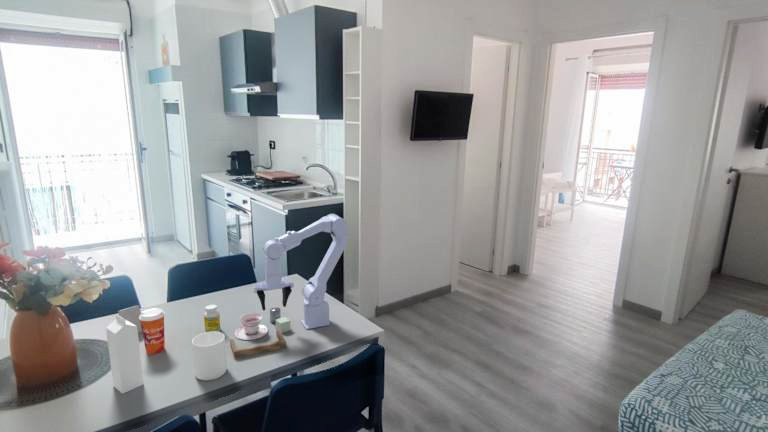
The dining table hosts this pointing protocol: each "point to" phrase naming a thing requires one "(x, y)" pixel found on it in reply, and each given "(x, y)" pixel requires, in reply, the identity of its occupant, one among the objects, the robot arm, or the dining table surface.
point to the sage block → (282, 324)
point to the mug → (209, 355)
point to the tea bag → (132, 316)
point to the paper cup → (153, 330)
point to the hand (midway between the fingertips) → (274, 307)
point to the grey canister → (274, 314)
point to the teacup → (251, 327)
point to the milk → (124, 355)
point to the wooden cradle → (258, 347)
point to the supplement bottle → (212, 318)
